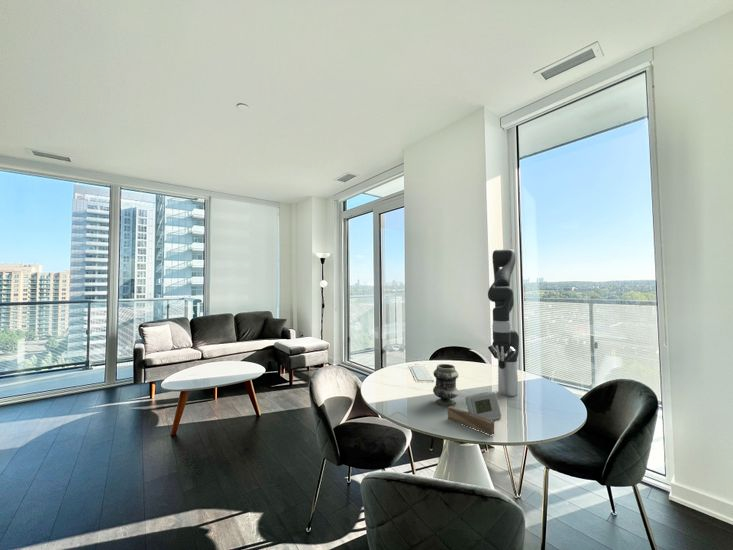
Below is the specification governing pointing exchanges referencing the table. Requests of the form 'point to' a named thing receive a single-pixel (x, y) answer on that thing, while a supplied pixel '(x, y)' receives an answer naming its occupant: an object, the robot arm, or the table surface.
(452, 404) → the stone urn vase
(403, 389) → the table surface
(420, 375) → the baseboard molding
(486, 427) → the walnut board
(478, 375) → the table surface
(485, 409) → the digital clock
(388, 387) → the table surface
